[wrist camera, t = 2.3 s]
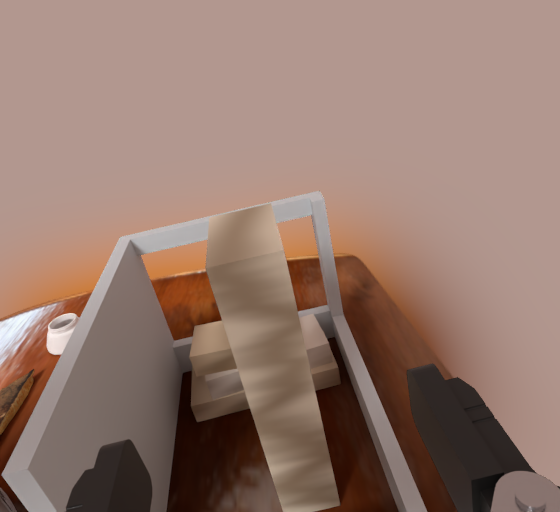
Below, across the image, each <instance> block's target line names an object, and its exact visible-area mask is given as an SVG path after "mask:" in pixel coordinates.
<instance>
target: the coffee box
mask: <svg viewBox="0 0 560 512" xmlns="http://www.w3.org/2000/svg"><path fill="white" fill-rule="evenodd" d="M0 512H17V511H16V509H15V507H14V505H13V504H12V502H11V500H10V499H9V497H8V496H7V494H6V493H5V492H4V491H3V490H2V489H1V488H0Z"/></svg>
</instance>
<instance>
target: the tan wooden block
mask: <svg viewBox="0 0 560 512" xmlns="http://www.w3.org/2000/svg"><path fill="white" fill-rule="evenodd" d="M206 271H207V275H208V278H209V281H210V284H211V287H212V290H213V293H214V297H215V300H216V303H217V306H218V309H219V312H220V315H221V318H222V322H223V325H224V328H225V331H226V334H227V337H228V340H229V344H230V347H231V350H232V353H233V356H234V359H235V362H236V366H237V369H238V372H239V375H240V378H241V381H242V384H243V388H244V391H245V394H246V397H247V400H248V403H249V406H250V410H251V413H252V416H253V419H254V422H255V425H256V428H257V432H258V435H259V438H260V441H261V444H262V447H263V450H264V454H265V457H266V460H267V463H268V466H269V469H270V472H271V475H272V479H273V482H274V485H275V488H276V491H277V494H278V497H279V501H280V504H281V507H282V510H283V512H315V511H319V510H324V509H328V508H332V507H336V506H340V501H339V496H338V491H337V487H336V482H335V478H334V473H333V469H332V464H331V460H330V455H329V451H328V446H327V442H326V437H325V433H324V428H323V424H322V419H321V415H320V410H319V406H318V401H317V397H316V392H315V388H314V383H313V379H312V374H311V370H310V365H309V361H308V356H307V352H306V347H305V343H304V338H303V333H302V329H301V324H300V320H299V315H298V311H297V306H296V302H295V297H294V293H293V288H292V284H291V279H290V275H289V270H288V266H287V261H286V257H285V252H284V248H283V245H282V241H281V237H280V234H279V230H278V227H277V223H276V219H275V216H274V212H273V209H272V205H271V203H270V204H266V205H261V206H257V207H253V208H248V209H244V210H240V211H236V212H231V213H227V214H223V215H218V216H214V217H210V218H209V228H208V242H207V255H206Z"/></svg>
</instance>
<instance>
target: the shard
mask: <svg viewBox="0 0 560 512" xmlns="http://www.w3.org/2000/svg"><path fill="white" fill-rule="evenodd" d="M33 374H34V369H33V370H31V371H30V372H29V373H28V374H26V375H24V376H23V377H21V378H19V379H17V380H16V381H14V382H13V383H11V384H10V385H8V386H7V387H5V388H3V389H1V390H0V435H1V434H2V432H3V431H4V430H5V428H6V427H7V425H8V424H9V422H10V421H11V420H12V418H13V417H14V416H15V414H16V412H17V411H18V409H19V407H20V406H21V405H22V403H23V401H24V400H25V398H26V397H27V395H28V393H29V391H30V388H31V386H32V385H33V380H34V379H33V378H32V376H33Z"/></svg>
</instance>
